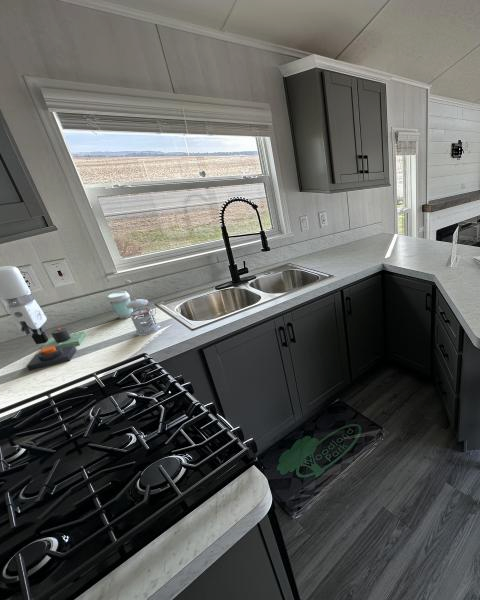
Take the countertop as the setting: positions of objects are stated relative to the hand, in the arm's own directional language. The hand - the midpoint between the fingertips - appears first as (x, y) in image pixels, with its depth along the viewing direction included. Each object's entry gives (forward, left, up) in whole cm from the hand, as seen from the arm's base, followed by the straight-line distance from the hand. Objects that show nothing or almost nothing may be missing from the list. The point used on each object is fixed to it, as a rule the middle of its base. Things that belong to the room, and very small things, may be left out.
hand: (42, 342), depth 127 cm
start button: (0, 0, -5) cm, 5 cm away
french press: (+31, +9, -9) cm, 34 cm away
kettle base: (0, 0, -8) cm, 8 cm away
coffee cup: (+19, +32, -9) cm, 38 cm away
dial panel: (0, +14, -8) cm, 16 cm away
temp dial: (0, +14, -6) cm, 15 cm away
